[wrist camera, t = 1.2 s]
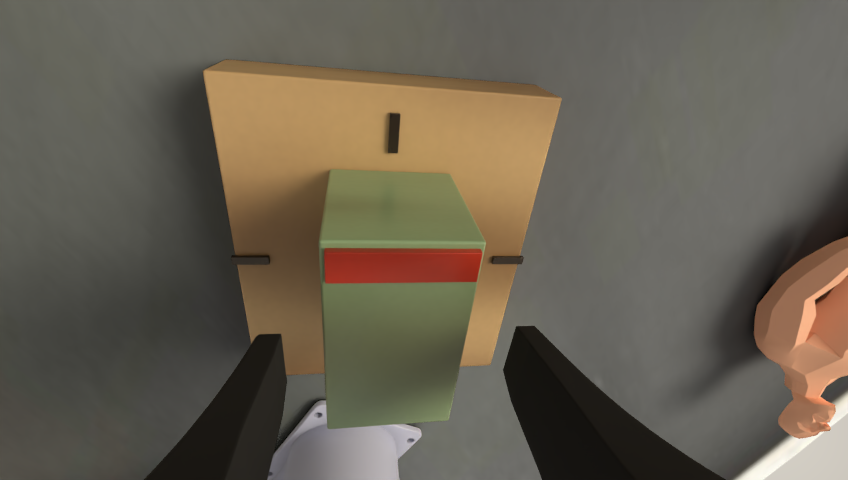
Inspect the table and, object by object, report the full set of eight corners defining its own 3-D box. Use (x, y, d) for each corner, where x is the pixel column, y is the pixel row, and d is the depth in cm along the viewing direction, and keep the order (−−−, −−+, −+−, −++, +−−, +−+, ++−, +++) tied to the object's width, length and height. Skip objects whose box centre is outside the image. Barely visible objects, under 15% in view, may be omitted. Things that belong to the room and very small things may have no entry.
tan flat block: (480, 332, 23) (493, 367, 21) (264, 339, 21) (253, 380, 19) (538, 84, 16) (567, 99, 14) (221, 58, 14) (195, 70, 12)
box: (428, 327, 19) (450, 427, 15) (333, 330, 18) (326, 436, 14) (450, 172, 15) (490, 247, 11) (329, 167, 14) (317, 246, 10)
